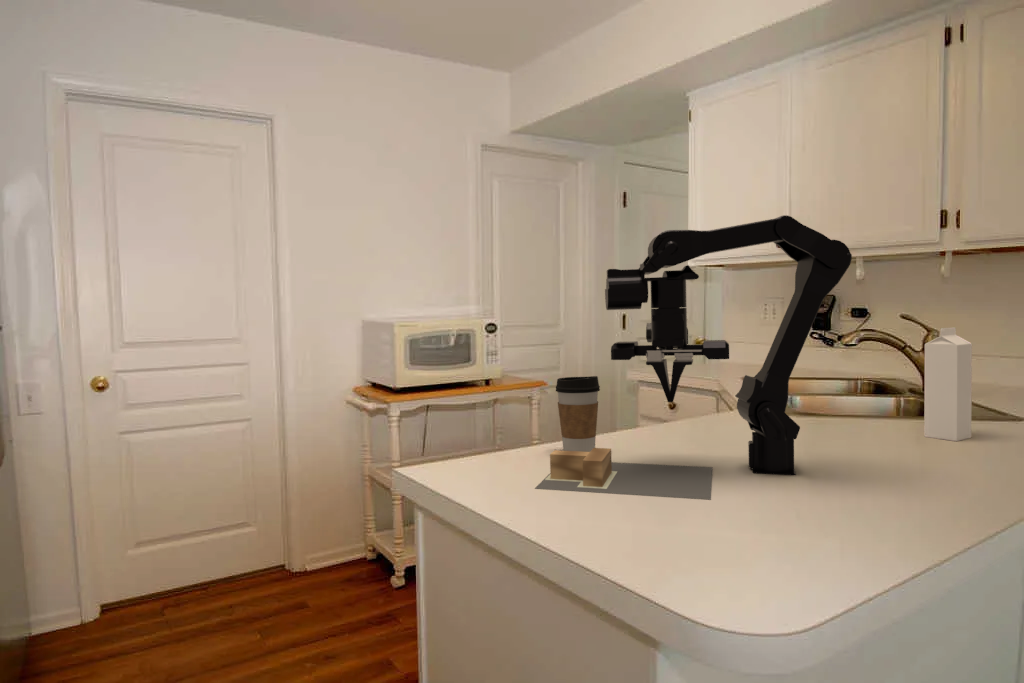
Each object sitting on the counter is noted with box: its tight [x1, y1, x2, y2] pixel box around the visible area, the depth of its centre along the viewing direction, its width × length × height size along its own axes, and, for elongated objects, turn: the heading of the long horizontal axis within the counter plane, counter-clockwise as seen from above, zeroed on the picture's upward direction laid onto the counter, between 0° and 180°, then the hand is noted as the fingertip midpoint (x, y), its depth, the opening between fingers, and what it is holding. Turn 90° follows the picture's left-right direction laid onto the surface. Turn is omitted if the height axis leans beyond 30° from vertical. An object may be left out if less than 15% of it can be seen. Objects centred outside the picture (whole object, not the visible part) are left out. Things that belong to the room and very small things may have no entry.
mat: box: [534, 461, 714, 501], centre depth 104 cm, size 26×19×1 cm
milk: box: [923, 326, 973, 442], centre depth 128 cm, size 6×6×22 cm
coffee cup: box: [555, 375, 601, 452], centre depth 122 cm, size 8×8×15 cm
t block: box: [549, 447, 613, 487], centre depth 104 cm, size 9×9×4 cm
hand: (670, 402), depth 106 cm, fingers closed
